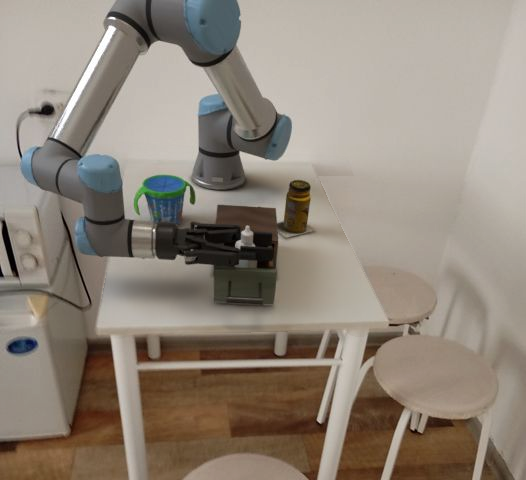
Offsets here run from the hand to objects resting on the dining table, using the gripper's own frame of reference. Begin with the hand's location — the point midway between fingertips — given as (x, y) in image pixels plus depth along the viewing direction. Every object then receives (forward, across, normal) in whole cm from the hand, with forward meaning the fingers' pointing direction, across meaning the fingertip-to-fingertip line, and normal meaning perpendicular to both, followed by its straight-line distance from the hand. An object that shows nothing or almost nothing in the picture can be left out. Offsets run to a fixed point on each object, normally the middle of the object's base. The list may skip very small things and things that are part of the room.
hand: (272, 246), depth 113 cm
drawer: (-5, +2, -10) cm, 12 cm away
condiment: (+7, -30, -11) cm, 32 cm away
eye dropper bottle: (-5, 0, -8) cm, 10 cm away
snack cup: (-25, -30, -11) cm, 40 cm away
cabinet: (-5, -13, -11) cm, 18 cm away
